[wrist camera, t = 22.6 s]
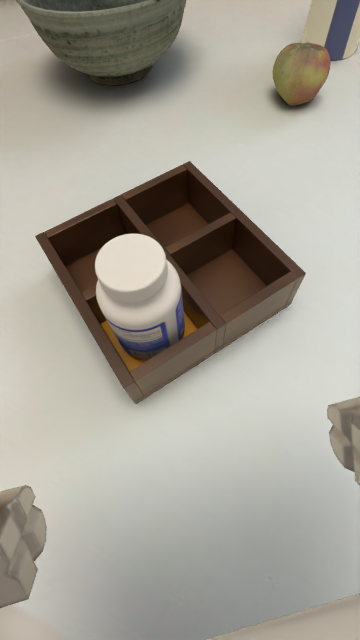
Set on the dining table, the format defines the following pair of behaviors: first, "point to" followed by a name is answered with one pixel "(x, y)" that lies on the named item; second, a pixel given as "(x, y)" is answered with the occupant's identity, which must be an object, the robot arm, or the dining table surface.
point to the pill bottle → (139, 295)
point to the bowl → (107, 34)
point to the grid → (178, 270)
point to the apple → (301, 72)
